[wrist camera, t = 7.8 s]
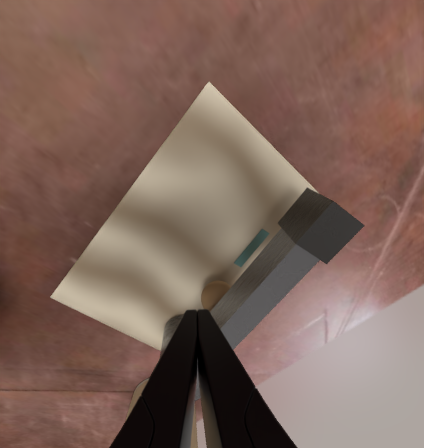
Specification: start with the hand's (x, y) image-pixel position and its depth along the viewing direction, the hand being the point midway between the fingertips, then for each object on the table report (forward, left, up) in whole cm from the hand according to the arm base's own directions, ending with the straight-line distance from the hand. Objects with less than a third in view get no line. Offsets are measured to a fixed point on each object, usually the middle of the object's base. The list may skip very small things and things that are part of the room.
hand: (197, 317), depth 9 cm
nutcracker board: (-3, -3, -12) cm, 12 cm away
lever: (-2, -6, -10) cm, 12 cm away
